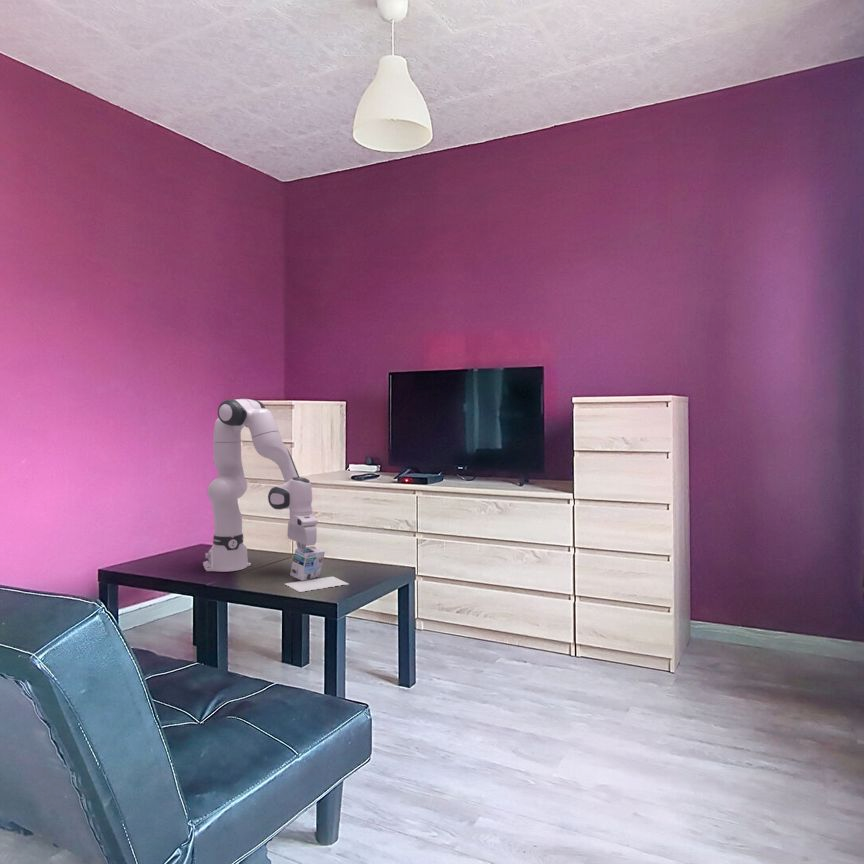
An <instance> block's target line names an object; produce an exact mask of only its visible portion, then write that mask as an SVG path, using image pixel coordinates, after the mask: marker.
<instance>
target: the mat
mask: <svg viewBox="0 0 864 864" xmlns="http://www.w3.org/2000/svg"><path fill="white" fill-rule="evenodd" d="M286 585H287V586H286ZM341 585H345V586H350V583H349V582H346V581H343V580H342V579H339V578H338V577H335V576H327V577H318V578H312V579H308V580H303V581H301V580H300V581H299V580H298V581H293V582H287V583H284V586H286V587H288V586H289V587H288V588H290V589H292V590H293V589H294V590H293V591H295V590H296V591H295V592H297V591H298V592H297V593H299V594H300V592H302V593H306V592H305V591H308V592H312V591H311V590H314V591H318V590H317V589H321V590H324V589H323V588H327V589H329V588H328V587H333V588H336V587H335V586H339V587H342V586H341Z"/></svg>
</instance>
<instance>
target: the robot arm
mask: <svg viewBox="0 0 864 864" xmlns="http://www.w3.org/2000/svg"><path fill="white" fill-rule="evenodd" d="M244 427H246V428H248V429H249V432H250V436H251V440H252V443H253V446H254V450H255V451H256V452H257V454H258V455H260V456H261V457H262V458H265V459H268V460H270V461H271V462H273V463H274V464H276V465H277V466H278V468H279V470H280V472H281V474H282V477H283V481H284V483H282V484H279V485H276V486H274V487H272V488H271V489H270V490H269V492H268V494H267V501H268V504H269V506H270V507H271V508H272V509H274V510H279V511H281V510H286V509H287V510H288V509H289V521H288V523H287V538H288V539H289V540H290V541H295V542H296V547H297V549H299V548H305V547H311V546H315V545H316V542H317V534H318V533H317V532H318V531H317V525H318V519H317V518H316V517H315V516H314V514H313V508H312V502H313V488H312V483H311V481H310V480H309V479H308V478H306V477H302V476H301V477H300V475H299V473H298V469H297V467H296V464H295V462H294V459H293V457H292V455H291V453H290V451H289V449H288V448H287V446H286V445H285V443H284V442H283V440H282V436H281V433H280V430H279V427H278V424H277V421H276V420H275V417H274V415H273V412H271V410H270V409H267V408H266V406H265V404H263V402H261V401H259V400H257V399H254V398H253V399H249V398H237V399H231V398H230V399H225V400H224V401H222V402H221V403H220V404H219V406H218V408H217V418H216V419H215V422H214V428H213V437H212V441H213V442H212V443H213V447H212V448H213V450H212V451H213V463H214V464H215V467H216V470H217V475H218V476H217V477H216V478H214V479H213V480H212V481H210V483H209V485H208V487H207V496H208V498H209V499H210V501H211V508H212V512H213V517H214V520H213V521H214V524H213V525H214V535H213V537H212V546H211V548H210V549H209V550H208V552H205V553H204V554H205V559H208V560H206V561H203V562H202V565H203V568H204V571H205V570H206V571H205V572H223V573H225V572H227V573H228V572H235V571H240V570H244V569H247V568H248V567H250V566H252V563H251V562H249V560H248V547H247V545H245V544H244V538H245V537H244V533H243V515H242V513H241V511H240V507H239V499H240V498H242V497H244V495H245V493H246V492H247V489H248V483H247V480H246V479H245V478H246V477H245V473H244V472H245V471H244V467H243V461H242V439H241V438H242V437H241V436H242V433H241V432H242V430H243V428H244Z"/></svg>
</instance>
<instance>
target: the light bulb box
mask: <svg viewBox="0 0 864 864" xmlns="http://www.w3.org/2000/svg"><path fill="white" fill-rule="evenodd" d="M325 552H326V551H325V550H323V549H320V548H318V547H316V546H315V545H310V546H306V547H305V548H299V549H298V548H295V550H294V555H293V558H292V559H293V560H292V564H291V568H290V569H291V570H290V574H289V575H290V577H293V578H295V579H297V580H298V581H299V580H300V581H306V580H312V579H317V578H320V574H321V573H322V572H321V571H322V568H323V567H322V566H323V562H324V557H325V555H326V554H325ZM316 577H317V578H316Z"/></svg>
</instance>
